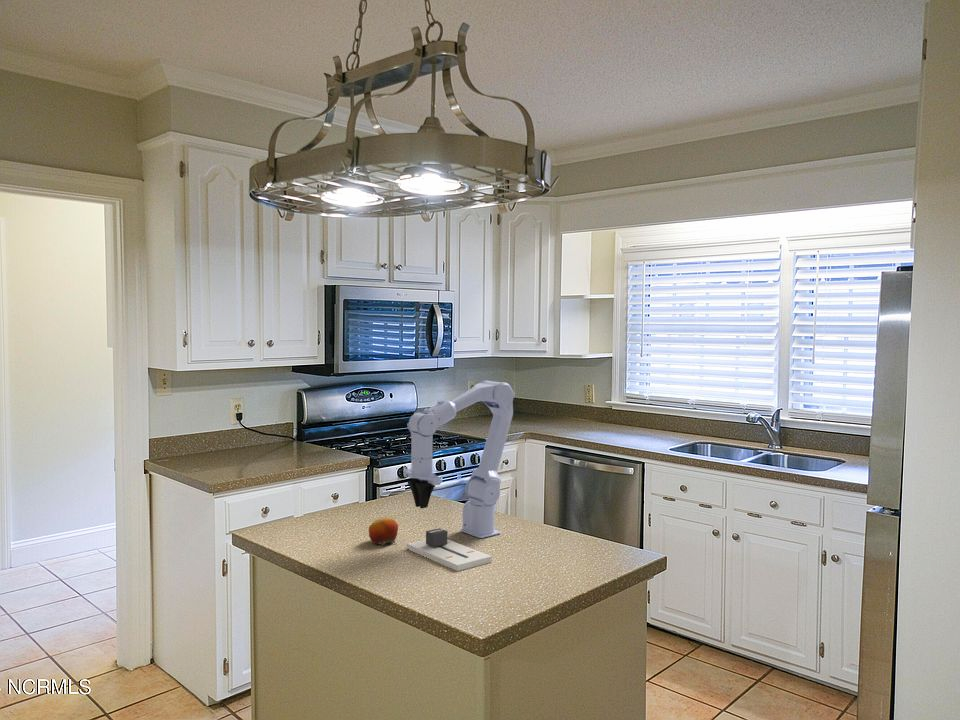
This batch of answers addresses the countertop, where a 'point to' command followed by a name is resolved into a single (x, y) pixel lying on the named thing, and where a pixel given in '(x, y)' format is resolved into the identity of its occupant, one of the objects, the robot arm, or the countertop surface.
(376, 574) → the countertop surface
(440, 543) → the fader knob
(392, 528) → the fruit
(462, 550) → the fader console
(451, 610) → the countertop surface
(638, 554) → the countertop surface
